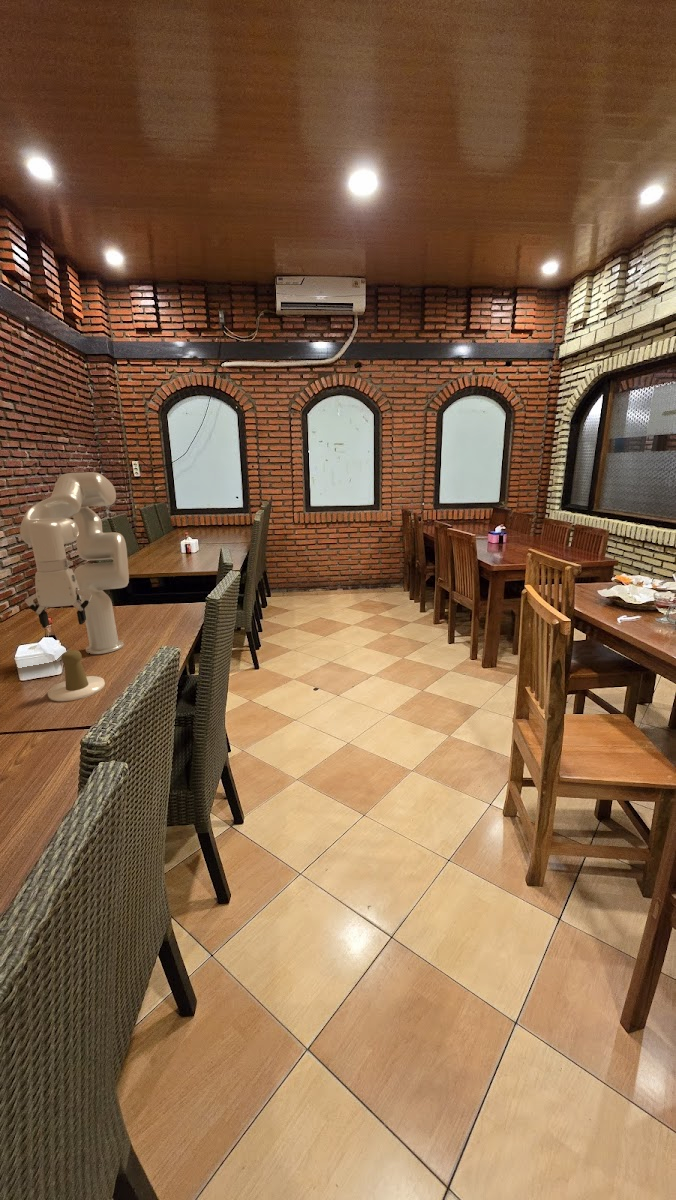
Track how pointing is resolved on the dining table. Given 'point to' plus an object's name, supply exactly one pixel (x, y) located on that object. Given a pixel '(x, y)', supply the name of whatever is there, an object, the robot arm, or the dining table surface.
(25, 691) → the dining table surface
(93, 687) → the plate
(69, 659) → the cork
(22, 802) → the dining table surface
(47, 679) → the dining table surface
